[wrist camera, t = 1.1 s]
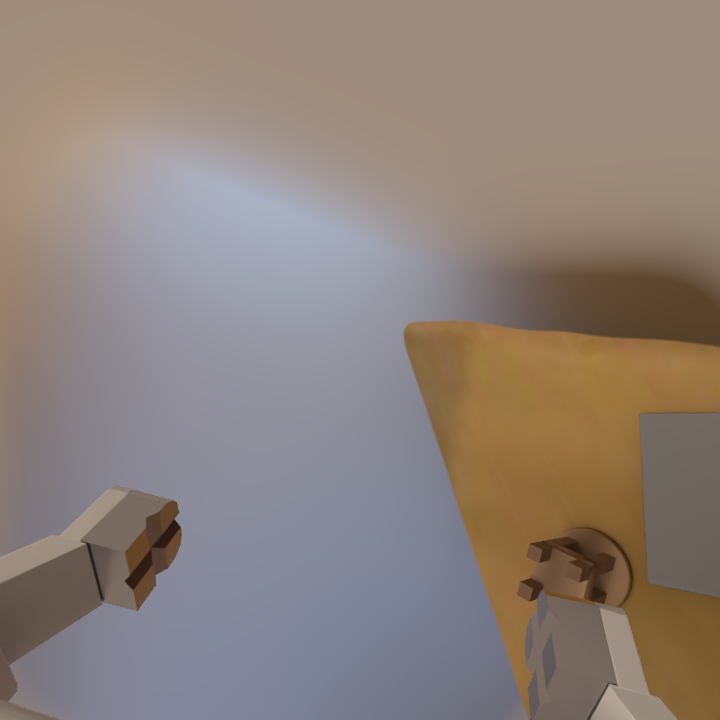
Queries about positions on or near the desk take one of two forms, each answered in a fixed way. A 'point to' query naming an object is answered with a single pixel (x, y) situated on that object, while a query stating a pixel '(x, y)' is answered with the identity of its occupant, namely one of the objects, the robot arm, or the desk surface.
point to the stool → (579, 568)
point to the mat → (682, 500)
